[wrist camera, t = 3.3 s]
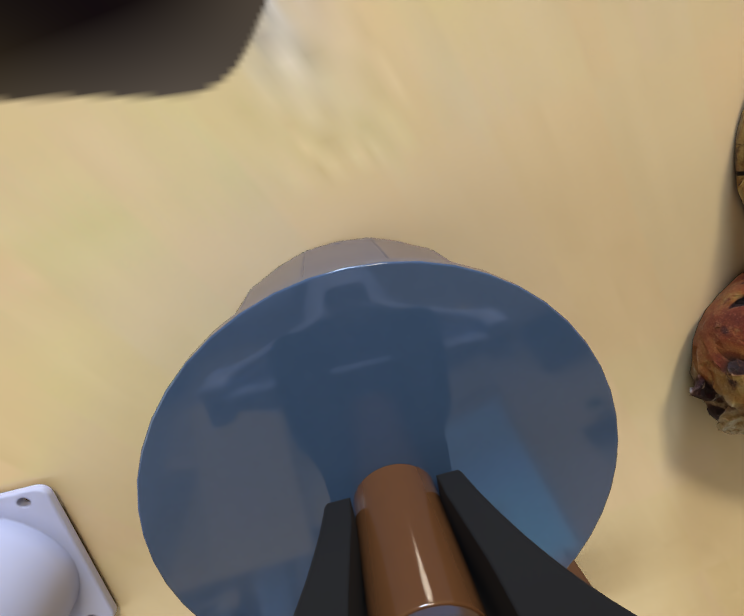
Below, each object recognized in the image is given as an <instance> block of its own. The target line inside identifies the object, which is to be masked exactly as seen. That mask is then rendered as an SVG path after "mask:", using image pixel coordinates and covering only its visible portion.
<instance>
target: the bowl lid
mask: <svg viewBox="0 0 744 616" xmlns="http://www.w3.org/2000/svg"><path fill="white" fill-rule="evenodd" d="M617 447H618V432H617V418H616V412H615V407H614V403H613V399H612V394H611V390H610V388H609V385H608V383H607V380H606V378H605V375H604V373H603V370H602V368H601V365H600V364H599V362H598V360H597V359H596V357H595V356H594V354H593V352H592V351H591V349H590V347H589V346H588V344H587V342H586V341H585V340H584V339H583V338H582V337H581V335H580V334H579V333H578V332H577V331H576V330H575V328H574V327H573V326H572V325H571V324H570V323H569V322H568V320H566V319H565V318H564V317H563V316H562V315H560V314H559V313H558V312H557V311H556V310H554V309H553V308H552V307H551V306H550V305H548V304H547V303H546V302H545V301H543V300H541V299H540V298H538V297H536V296H535V295H533V294H532V293H530V292H528V291H527V290H525V289H523V288H522V287H520V286H518V285H516V284H514V283H513V282H510V281H508V280H506V279H503V278H501V277H498V276H496V275H494V274H491V273H489V272H486V271H484V270H481V269H477V268H473V267H469V266H465V265H461V264H457V263H453V262H448V261H440V260H431V259H422V258H382V259H374V260H367V261H361V262H354V263H347V264H342V265H339V266H335V267H332V268H328V269H325V270H321V271H318V272H314V273H311V274H308V275H305V276H303V277H301V278H298V279H296V280H294V281H291V282H289V283H287V284H284V285H282V286H280V287H278V288H275V289H273V290H272V291H270V292H268V293H266V294H265V295H263V296H261V297H260V298H258V299H256V300H255V301H253V302H251V303H250V304H248V305H246V306H245V307H243V308H242V309H240V310H239V311H238V312H237V313H235V314H234V315H233V316H232V317H230V318H229V319H228V320H226V321H225V322H224V323H223V324H221V325H220V326H219V327H218V328H216V329H215V330H214V331H213V332H212V333H211V334H210V335H209V336H208V337H207V338H206V339H205V340H204V341H203V343H202V344H201V345H200V346H199V347H198V348H197V349H196V350H195V351H194V352H193V353H192V354H191V355H190V356H189V358H188V359H187V361H186V362H185V363H184V365H183V366H182V368H181V369H180V370H179V372H178V373H177V375H176V376H175V378H174V379H173V380H172V382H171V383H170V385H169V386H168V388H167V389H166V391H165V393H164V395H163V397H162V399H161V401H160V403H159V405H158V407H157V409H156V411H155V413H154V415H153V417H152V419H151V421H150V424H149V427H148V430H147V434H146V437H145V440H144V443H143V446H142V449H141V456H140V463H139V470H138V477H137V490H138V511H139V516H140V521H141V526H142V531H143V536H144V539H145V541H146V544H147V546H148V549H149V552H150V554H151V557H152V559H153V562H154V563H155V565H156V567H157V568H158V570H159V572H160V574H161V575H162V577H163V579H164V580H165V582H166V584H167V585H168V586H169V587H170V589H171V590H172V591H173V592H174V594H175V595H176V596H177V597H178V598H179V600H180V601H181V602H182V603H183V604H184V605H185V606H186V607H187V608H188V609H189V610H190V611H191V612H193V613H194V614H195V615H196V616H293V615H294V612H295V610H296V607H297V604H298V601H299V599H300V596H301V593H302V590H303V588H304V585H305V582H306V579H307V575H308V572H309V569H310V565H311V562H312V559H313V556H314V552H315V549H316V545H317V541H318V537H319V533H320V529H321V524H322V519H323V514H324V508H325V506H326V505H327V504H328V503H331V502H335V501H339V500H342V499H346V498H350V500H351V504H352V507H353V511H354V515H355V520H356V528H357V536H358V543H359V552H360V563H361V572H362V580H363V588H364V596H365V604H366V612H367V616H488V615H487V612H486V610H485V607H484V605H483V602H482V600H481V597H480V595H479V592H478V590H477V587H476V585H475V582H474V580H473V577H472V575H471V572H470V570H469V567H468V565H467V562H466V560H465V557H464V555H463V552H462V550H461V547H460V545H459V542H458V540H457V538H456V535H455V533H454V530H453V528H452V525H451V523H450V520H449V518H448V515H447V513H446V510H445V508H444V505H443V503H442V500H441V498H440V495H439V489H438V483H437V477H436V475H439V474H443V473H447V472H451V471H455V470H459V471H461V472H462V473H463V474H464V475H465V476H466V477H467V479H468V480H469V481H470V482H471V483H472V484H473V485H474V486H475V487H476V489H477V490H478V491H479V492H480V493H481V494H482V495H483V496H484V497H485V498H486V499H487V500H488V501H489V502H490V503H491V504H492V505H493V506H494V507H495V508H496V509H497V510H498V511H499V512H500V513H501V514H502V515H503V516H505V517H506V518H507V519H508V520H509V521H510V522H511V523H512V524H513V525H514V526H515V527H516V528H518V529H519V530H520V531H521V532H522V533H523V534H524V535H526V536H527V537H528V538H529V539H530V540H531V541H533V542H534V543H535V544H536V545H537V546H539V547H540V548H541V549H542V550H543V551H545V552H546V553H547V554H548V555H550V556H551V557H552V558H553V559H555V560H556V561H557V562H558V563H560V564H561V565H562V566H564V567H565V568H566V569H567V568H568V567H569V565H570V564H571V563H572V562H573V560H574V559H575V558H576V557H577V556H578V554H579V553H580V551H581V549H582V548H583V546H584V545H585V543H586V542H587V540H588V539H589V537H590V536H591V534H592V532H593V530H594V528H595V526H596V524H597V522H598V520H599V518H600V516H601V514H602V512H603V509H604V507H605V504H606V501H607V498H608V496H609V493H610V490H611V486H612V482H613V477H614V472H615V468H616V460H617Z"/></svg>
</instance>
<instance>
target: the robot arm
mask: <svg viewBox="0 0 744 616" xmlns="http://www.w3.org/2000/svg"><path fill="white" fill-rule="evenodd" d="M436 477H437V483H438V489H439V495H440V498H441V500H442V503H443V505H444V508H445V510H446V513H447V515H448V518H449V520H450V523H451V525H452V528H453V530H454V533H455V535H456V538H457V540H458V542H459V545H460V547H461V550H462V552H463V555H464V557H465V560H466V562H467V565H468V567H469V570H470V572H471V575H472V577H473V580H474V582H475V585H476V587H477V590H478V592H479V595H480V597H481V600H482V602H483V605H484V607H485V610H486V612H487V615H488V616H637V615H635V614H633V613H632V612H630V611H629V610H627V609H625V608H624V607H622V606H620V605H619V604H617V603H615V602H614V601H612V600H611V599H609V598H608V597H606V596H605V595H603V594H602V593H600V592H599V591H597V590H596V589H594V588H593V587H592V586H590V585H589V584H587V583H586V582H584V581H583V580H581V579H580V578H579V577H577V576H576V575H575V574H573V573H572V572H570V571H569V570H568V569H566V568H565V567H564V566H562V565H561V564H560V563H558V562H557V561H556V560H555V559H553V558H552V557H551V556H550V555H548V554H547V553H546V552H545V551H543V550H542V549H541V548H540V547H539V546H537V545H536V544H535V543H534V542H533V541H531V540H530V539H529V538H528V537H527V536H526V535H524V534H523V533H522V532H521V531H520V530H519V529H518V528H516V527H515V526H514V525H513V524H512V523H511V522H510V521H509V520H508V519H507V518H506V517H505V516H503V515H502V514H501V513H500V512H499V511H498V510H497V509H496V508H495V507H494V506H493V505H492V504H491V503H490V502H489V501H488V500H487V499H486V498H485V497H484V496H483V495H482V494H481V493H480V492H479V491H478V490H477V489H476V487H475V486H474V485H473V484H472V483H471V482H470V481H469V480H468V479H467V477H466V476H465V475H464V474H463V473H462V472H461V471H459V470H455V471H451V472H447V473H443V474H439V475H436ZM24 498H27V499H29V500H30V501H27V500H25V499H24ZM116 611H117V606H116V604H115V602H114V600H113V599H112V597H111V595H110V593H109V591H108V589H107V588H106V586H105V584H104V582H103V580H102V579H101V577H100V575H99V573H98V571H97V569H96V568H95V566H94V564H93V562H92V560H91V559H90V557H89V555H88V553H87V551H86V549H85V548H84V546H83V544H82V542H81V540H80V539H79V537H78V535H77V533H76V531H75V529H74V528H73V526H72V524H71V522H70V520H69V519H68V517H67V515H66V513H65V511H64V509H63V508H62V506H61V504H60V502H59V500H58V498H57V497H56V495H55V493H54V491H53V490H52V489H51V488H50V487H49V486H47V485H43V484H37V485H32V486H28V487H24V488H20V489H16V490H12V491H8V492H3V493H0V616H115V614H116ZM293 616H367V612H366V604H365V596H364V588H363V580H362V572H361V563H360V552H359V543H358V536H357V528H356V520H355V515H354V511H353V507H352V504H351V500H350V498H346V499H342V500H339V501H335V502H331V503H328V504H327V505H326V506H325V508H324V514H323V519H322V524H321V529H320V533H319V537H318V541H317V545H316V549H315V552H314V556H313V559H312V562H311V565H310V569H309V572H308V575H307V579H306V582H305V585H304V588H303V590H302V593H301V596H300V599H299V601H298V604H297V607H296V610H295V612H294V615H293Z"/></svg>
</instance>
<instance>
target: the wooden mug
mask: <svg viewBox="0 0 744 616" xmlns="http://www.w3.org/2000/svg"><path fill="white" fill-rule="evenodd" d="M735 171H736V180H737V189H738V192H739V195H740V197H741V199H742V202H743V204H744V109H743V111H742V114H741V118H740V122H739V126H738V130H737V134H736V148H735Z"/></svg>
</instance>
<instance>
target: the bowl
mask: <svg viewBox="0 0 744 616" xmlns="http://www.w3.org/2000/svg"><path fill="white" fill-rule="evenodd" d="M382 258H422V259H431V260H440V261H448V262H451V261H449V260H448V259H446V258H445V257H443V256H441V255H440V254H438V253H437V252H435V251H433V250H430V249H429V248H424V247H418V246H415V245H411V244H407V243H403V242H400V241H394V240H385V239H376V238H363V239H352V240H346V241H339V242H334V243H330V244H327V245H323V246H320V247H316V248H314V249H311V250H307V251H305V252H302V253H301V254H299V255H298V256H296V257H294V258H292V259H291V260H289V261H287V262H286V263H284V264H282V265H281V266H279V267H278V268H276V269H275V270H274V271H273V272H271V273H270V274H269V275H268V276H266V277H265V278H264V279H263V280H262V281H260V282H259V283H258V284H256V285H255V286H253V287H252V289H250V290H249V292H248V294H247V295H246V297H245V298H244V300H243V302H242V303H241V305H240V307H239V308H238V310H237V311H236V313H237V312H238V311H239V310H240V309H242V308H243V307H245V306H246V305H248V304H250V303H251V302H253V301H255V300H256V299H258V298H260V297H261V296H263V295H265V294H266V293H268V292H270V291H272V290H273V289H275V288H278V287H280V286H282V285H284V284H287V283H289V282H291V281H294V280H296V279H298V278H301V277H303V276H305V275H308V274H311V273H314V272H318V271H321V270H325V269H328V268H332V267H335V266H339V265H342V264H347V263H354V262H361V261H367V260H374V259H382Z"/></svg>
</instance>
